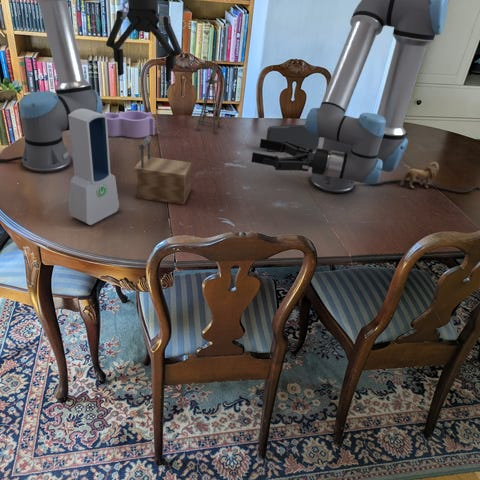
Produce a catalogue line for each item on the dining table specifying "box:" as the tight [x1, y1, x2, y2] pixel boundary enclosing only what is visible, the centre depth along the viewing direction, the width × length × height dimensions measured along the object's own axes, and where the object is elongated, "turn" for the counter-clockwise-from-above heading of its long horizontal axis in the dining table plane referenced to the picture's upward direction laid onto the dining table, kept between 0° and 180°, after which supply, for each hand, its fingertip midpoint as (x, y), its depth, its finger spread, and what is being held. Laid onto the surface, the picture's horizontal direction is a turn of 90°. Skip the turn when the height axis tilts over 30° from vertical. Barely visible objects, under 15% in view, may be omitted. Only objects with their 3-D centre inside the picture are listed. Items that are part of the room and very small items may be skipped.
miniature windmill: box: [196, 58, 221, 133], centre depth 195 cm, size 9×8×30 cm
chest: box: [136, 166, 192, 205], centre depth 147 cm, size 15×10×9 cm
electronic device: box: [68, 109, 120, 226], centre depth 127 cm, size 12×8×30 cm, turn 148°
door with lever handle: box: [133, 135, 193, 179], centre depth 142 cm, size 16×10×9 cm, turn 83°
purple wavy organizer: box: [102, 110, 156, 139], centre depth 189 cm, size 20×12×7 cm, turn 109°
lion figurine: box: [399, 161, 440, 189], centre depth 170 cm, size 15×5×9 cm, turn 110°
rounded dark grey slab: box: [266, 124, 321, 152], centre depth 189 cm, size 23×3×10 cm, turn 108°
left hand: (144, 77), depth 130 cm, fingers open, 13 cm apart
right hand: (256, 149), depth 139 cm, fingers open, 13 cm apart
